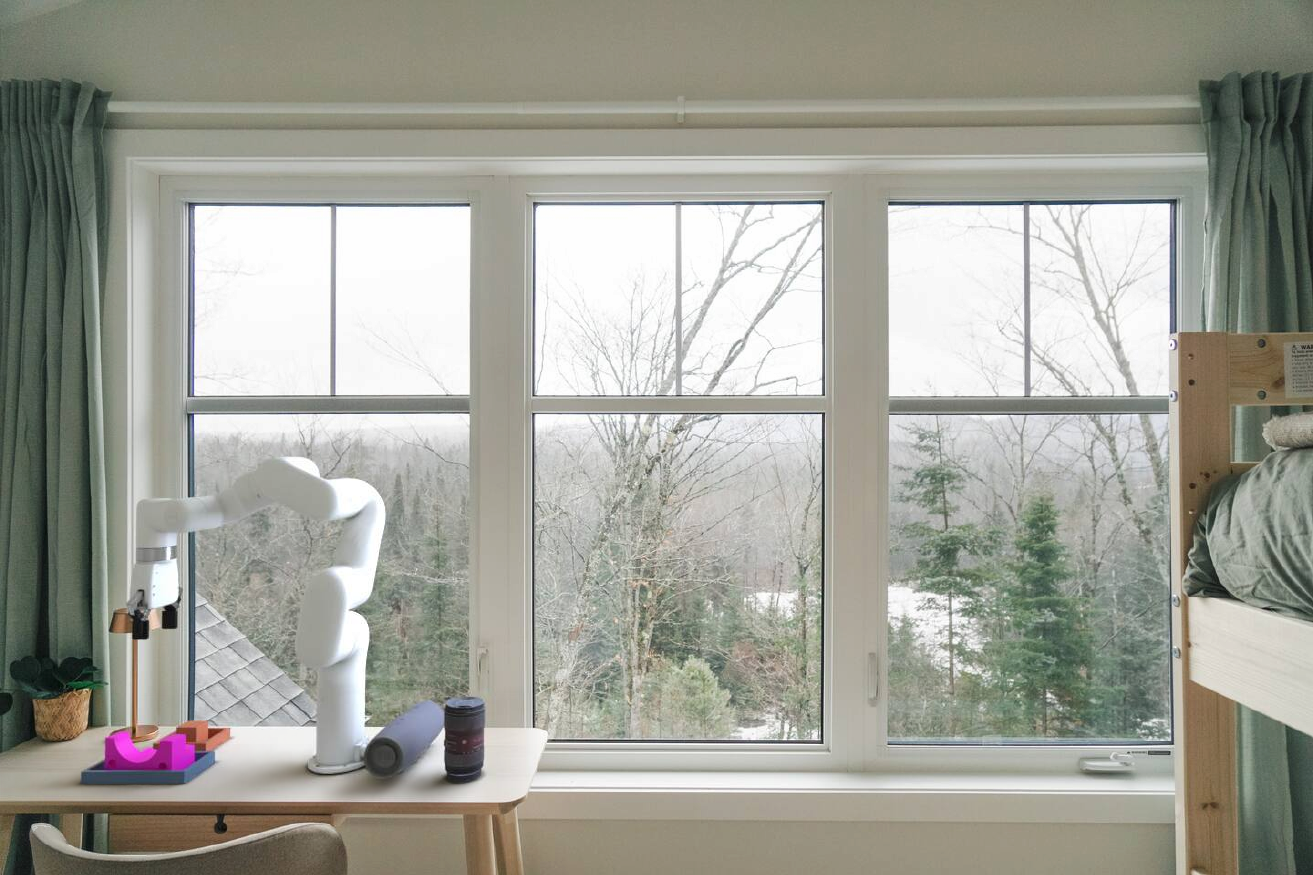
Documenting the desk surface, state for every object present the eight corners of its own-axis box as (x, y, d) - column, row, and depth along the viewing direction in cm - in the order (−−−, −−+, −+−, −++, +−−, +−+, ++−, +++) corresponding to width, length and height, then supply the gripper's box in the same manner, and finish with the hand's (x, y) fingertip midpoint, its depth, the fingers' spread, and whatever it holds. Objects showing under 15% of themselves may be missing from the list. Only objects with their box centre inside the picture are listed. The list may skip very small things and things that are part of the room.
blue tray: (215, 762, 164) (215, 750, 164) (184, 783, 153) (184, 771, 153) (117, 762, 164) (118, 751, 164) (80, 783, 153) (80, 771, 153)
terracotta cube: (208, 740, 175) (208, 720, 175) (196, 747, 171) (196, 727, 171) (188, 740, 175) (188, 720, 175) (175, 747, 171) (176, 727, 171)
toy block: (194, 766, 160) (194, 730, 161) (171, 778, 154) (172, 741, 154) (129, 762, 162) (130, 726, 163) (104, 774, 156) (105, 737, 156)
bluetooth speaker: (407, 741, 175) (408, 697, 175) (447, 742, 174) (447, 698, 175) (360, 784, 153) (360, 733, 153) (405, 786, 152) (405, 734, 152)
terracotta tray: (230, 737, 178) (230, 727, 178) (205, 754, 168) (206, 743, 168) (179, 738, 178) (179, 727, 178) (152, 754, 168) (152, 743, 168)
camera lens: (484, 782, 153) (485, 706, 154) (442, 786, 152) (442, 709, 152) (485, 766, 161) (485, 694, 162) (445, 769, 160) (445, 696, 160)
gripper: (164, 550, 177) (163, 625, 176) (111, 560, 160) (110, 643, 159) (197, 549, 177) (196, 624, 176) (147, 560, 160) (146, 643, 159)
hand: (155, 633), depth 168 cm, fingers open, 9 cm apart
